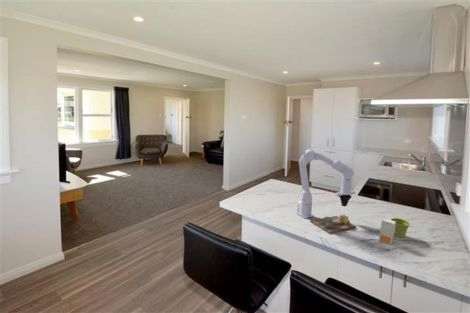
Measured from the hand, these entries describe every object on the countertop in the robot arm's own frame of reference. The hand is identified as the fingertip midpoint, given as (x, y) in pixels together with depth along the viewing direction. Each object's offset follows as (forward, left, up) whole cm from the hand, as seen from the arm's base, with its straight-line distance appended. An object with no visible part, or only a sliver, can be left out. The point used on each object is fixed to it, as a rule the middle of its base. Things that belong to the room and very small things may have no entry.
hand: (344, 205), depth 166 cm
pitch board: (+4, -12, -9) cm, 16 cm away
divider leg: (+6, -6, -8) cm, 12 cm away
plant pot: (+28, +13, -10) cm, 33 cm away
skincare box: (+30, 0, -10) cm, 32 cm away
